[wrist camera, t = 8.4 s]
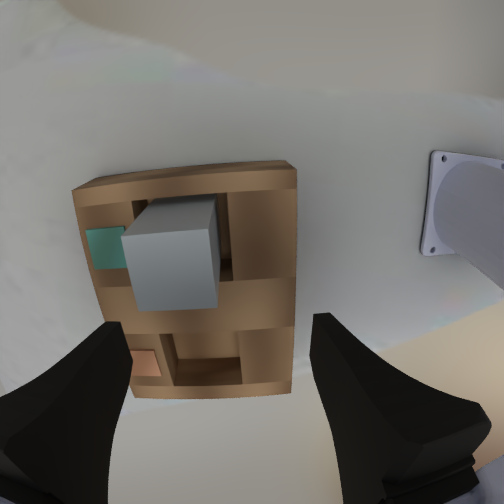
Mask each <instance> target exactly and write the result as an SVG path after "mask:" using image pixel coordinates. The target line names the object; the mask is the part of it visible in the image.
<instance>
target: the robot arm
mask: <svg viewBox="0 0 504 504" xmlns="http://www.w3.org/2000/svg"><path fill="white" fill-rule="evenodd" d="M442 156H444V159H443V161H442V159H441V158H442ZM501 165H502V166H501ZM432 247H433V249H432V250H431V248H432ZM430 250H431V251H430ZM421 253H422V254H423V255H424V256H435V255H446V254H457V253H458V254H459V255H460V256H461V257H463V258H464V259H465V260H467V261H468V262H469V263H471V264H472V265H473V266H474V267H476V268H477V269H478V270H480V271H481V272H482V273H483V274H485V275H486V276H487V277H488V278H490V279H491V280H492V281H493V282H494V283H496V284H497V285H498V286H499V287H500V288H502V289H503V290H504V160H500V159H494V158H488V157H482V156H475V155H468V154H461V153H453V152H445V151H434V152H433V153H432V155H431V165H430V179H429V190H428V200H427V208H426V217H425V224H424V231H423V238H422V244H421ZM309 356H310V361H311V366H312V371H313V376H314V380H315V383H316V386H317V389H318V392H319V394H320V398H321V401H322V404H323V407H324V409H325V412H326V416H327V418H328V421H329V424H330V428H331V431H332V436H333V441H334V446H335V451H336V456H337V462H338V468H339V473H340V480H341V488H342V495H343V504H504V455H502V456H500V457H499V458H497V459H495V460H494V461H492V462H490V463H488V464H486V465H485V466H483V467H481V468H480V469H479V470H477V471H476V472H474V469H473V467H472V466H473V465H474V464H475V459H474V457H473V455H472V453H473V452H474V451H475V450H476V449H477V448H478V446H479V445H480V444H481V443H482V442H483V441H484V439H485V438H486V437H487V435H488V434H489V432H490V429H491V426H492V425H491V421H490V420H489V418H488V416H487V415H486V414H485V412H484V410H483V409H482V407H481V406H480V404H479V403H477V402H473V401H469V400H465V399H462V398H459V397H455V396H452V395H449V394H447V393H444V392H442V391H439V390H437V389H434V388H432V387H430V386H428V385H425V384H423V383H421V382H419V381H418V380H416V379H414V378H412V377H410V376H408V375H406V374H405V373H403V372H401V371H400V370H398V369H396V368H395V367H393V366H392V365H390V364H389V363H387V362H386V361H385V360H383V359H382V358H380V357H379V356H378V355H377V354H375V353H374V352H373V351H371V350H370V349H369V348H368V347H366V346H365V345H364V344H363V343H362V342H361V341H359V340H358V339H357V338H356V337H355V336H354V335H353V334H352V333H351V332H350V331H348V330H347V329H346V328H345V327H344V326H343V325H342V324H341V323H340V322H339V321H338V320H337V319H336V318H335V317H334V316H333V315H332V314H331V313H319V314H313V325H312V335H311V345H310V355H309ZM132 366H133V359H132V356H131V353H130V350H129V347H128V344H127V341H126V338H125V335H124V331H123V328H122V325H121V322H120V321H106V322H105V323H103V324H102V325H101V326H100V327H98V328H97V329H96V330H95V331H94V332H93V333H92V334H90V335H89V336H88V337H87V338H86V339H85V340H84V341H82V342H81V343H80V344H79V345H78V346H77V347H76V348H74V349H73V350H72V351H71V352H70V353H69V354H67V355H66V356H65V357H64V358H62V359H61V360H60V361H59V362H57V363H56V364H55V365H54V366H52V367H51V368H50V369H48V370H47V371H46V372H44V373H43V374H41V375H40V376H38V377H37V378H35V379H34V380H32V381H30V382H29V383H27V384H25V385H23V386H21V387H20V388H18V389H16V390H14V391H12V392H10V393H8V394H6V395H4V396H2V397H0V504H108V476H109V466H110V456H111V448H112V443H113V437H114V433H115V428H116V424H117V421H118V418H119V415H120V412H121V409H122V406H123V402H124V399H125V396H126V393H127V390H128V386H129V383H130V378H131V372H132Z"/></svg>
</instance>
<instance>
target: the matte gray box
mask: <svg viewBox="0 0 504 504" xmlns="http://www.w3.org/2000/svg"><path fill="white" fill-rule="evenodd" d="M121 240H122V245H123V250H124V254H125V259H126V263H127V268H128V272H129V276H130V280H131V284H132V288H133V292H134V296H135V300H136V304H137V307H138V311H166V310H188V309H207V308H218V292H219V276H220V262H221V248H222V243H221V233H220V222H219V211H218V199H217V193H211V194H198V195H186V196H174V197H164V198H154V200H153V201H152V202H151V203H150V204H149V205H148V206H147V207H146V208H145V209H144V210H143V212H142V213H141V214H140V215H139V216H138V217H137V218H136V219H135V221H134V222H133V223H132V224H131V225H130V226H129V227H128V229H127V230H126V231H125V232H124V233H123V234H122V235H121Z"/></svg>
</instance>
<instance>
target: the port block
mask: <svg viewBox="0 0 504 504" xmlns="http://www.w3.org/2000/svg"><path fill="white" fill-rule="evenodd" d="M211 193H217V199H218V211H219V222H220V233H221V243H222V248H221V262H220V276H219V292H218V308H207V309H188V310H166V311H138V307H137V304H136V300H135V296H134V292H133V288H132V284H131V280H130V276H129V272H128V268H127V263H126V259H125V254H124V250H123V245H122V240H121V235H122V234H123V233H124V232H125V231H126V230H127V229H128V227H129V226H130V225H131V224H132V223H133V222H134V221H135V219H136V218H137V217H138V216H139V215H140V214H141V213H142V212H143V210H144V209H145V208H146V207H147V206H148V205H149V204H150V203H151V202H152V201H153V200H154V198H164V197H174V196H186V195H198V194H211ZM72 195H73V201H74V206H75V211H76V216H77V221H78V226H79V230H80V235H81V239H82V244H83V248H84V252H85V256H86V260H87V264H88V267H89V271H90V275H91V278H92V282H93V285H94V289H95V292H96V295H97V298H98V302H99V305H100V308H101V311H102V314H103V317H104V320H105V322H106V321H120V322H121V325H122V328H123V331H124V335H125V338H126V341H127V344H128V347H129V350H130V353H131V356H132V359H133V366H132V372H131V378H130V383H129V385H130V388H131V390H132V392H133V394H134V397H135V398H153V399H216V398H217V399H219V398H240V397H256V396H268V395H278V394H288V393H291V384H292V367H293V348H294V325H295V296H296V250H297V169H295V168H294V167H293V166H292V165H290V164H289V163H288V162H287V161H258V162H239V163H223V164H210V165H198V166H186V167H176V168H167V169H158V170H149V171H141V172H133V173H126V174H119V175H112V176H105V177H99V178H95V179H93V180H91V181H89V182H87V183H85V184H83V185H81V186H79V187H77V188H76V189H74V190H72Z"/></svg>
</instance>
